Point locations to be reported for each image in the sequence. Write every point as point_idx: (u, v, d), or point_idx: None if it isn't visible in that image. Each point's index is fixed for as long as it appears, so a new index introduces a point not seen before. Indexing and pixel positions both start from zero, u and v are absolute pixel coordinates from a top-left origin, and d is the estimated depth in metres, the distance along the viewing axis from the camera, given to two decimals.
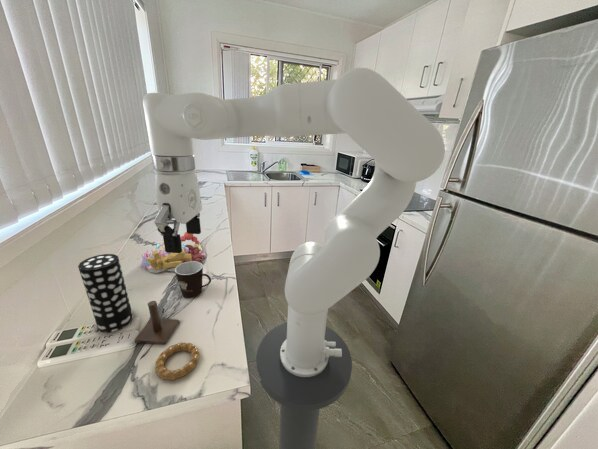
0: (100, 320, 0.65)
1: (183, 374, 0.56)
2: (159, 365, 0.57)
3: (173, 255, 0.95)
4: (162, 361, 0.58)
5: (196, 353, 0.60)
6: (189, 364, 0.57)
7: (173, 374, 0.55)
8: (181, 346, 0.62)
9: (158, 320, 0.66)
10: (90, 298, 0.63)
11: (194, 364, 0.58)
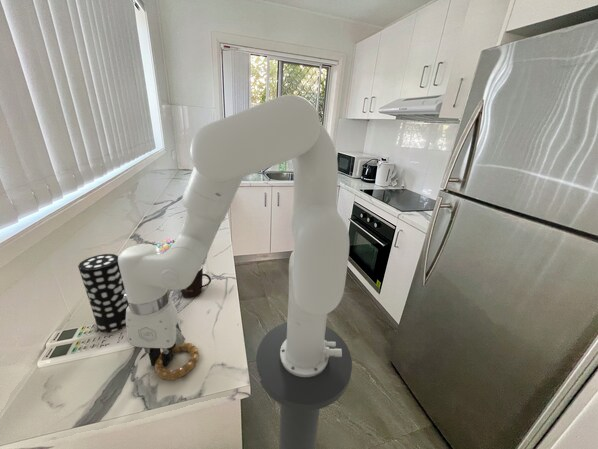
0: (100, 320, 0.65)
1: (182, 374, 0.56)
2: (158, 365, 0.57)
3: None
4: (161, 361, 0.58)
5: (195, 353, 0.60)
6: (188, 364, 0.57)
7: (172, 374, 0.55)
8: (181, 346, 0.62)
9: None
10: (90, 297, 0.63)
11: (193, 364, 0.58)
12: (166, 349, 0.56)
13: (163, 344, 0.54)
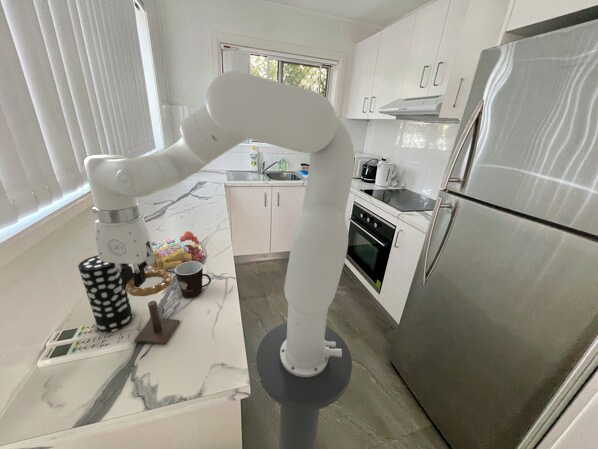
0: (100, 320, 0.65)
1: (153, 292, 0.56)
2: (130, 284, 0.57)
3: (173, 255, 0.95)
4: (133, 282, 0.58)
5: (168, 277, 0.61)
6: (160, 284, 0.58)
7: (143, 290, 0.55)
8: (154, 272, 0.63)
9: (158, 320, 0.66)
10: (90, 297, 0.63)
11: (165, 285, 0.58)
12: (137, 268, 0.57)
13: (133, 259, 0.54)
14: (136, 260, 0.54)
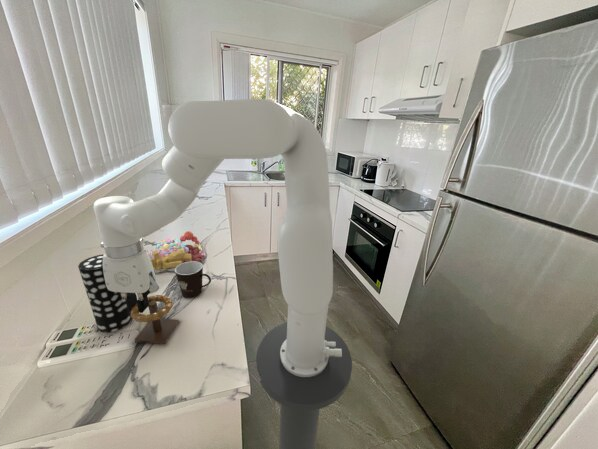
0: (100, 320, 0.65)
1: (156, 318, 0.61)
2: (134, 310, 0.62)
3: (173, 255, 0.95)
4: (137, 308, 0.64)
5: (169, 302, 0.66)
6: (162, 310, 0.63)
7: (146, 317, 0.61)
8: (157, 297, 0.68)
9: (158, 320, 0.66)
10: (90, 297, 0.63)
11: (167, 311, 0.64)
12: (141, 295, 0.62)
13: (137, 289, 0.59)
14: (140, 290, 0.60)
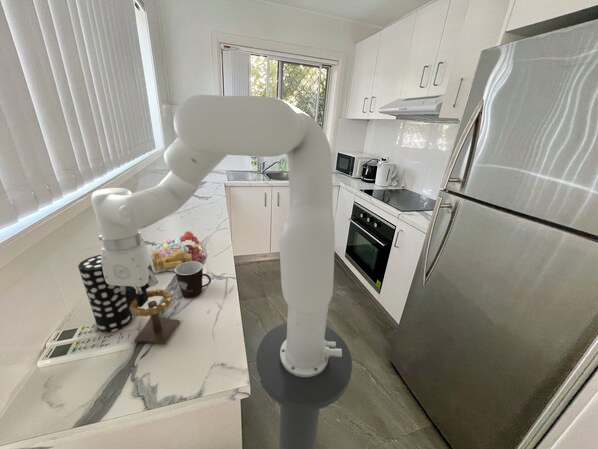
0: (100, 320, 0.65)
1: (155, 312, 0.61)
2: (133, 304, 0.62)
3: (173, 255, 0.95)
4: None
5: (169, 297, 0.65)
6: (161, 304, 0.62)
7: (145, 311, 0.60)
8: (156, 292, 0.67)
9: (158, 320, 0.66)
10: (90, 297, 0.63)
11: (166, 305, 0.63)
12: (140, 289, 0.61)
13: (136, 282, 0.59)
14: (139, 283, 0.59)
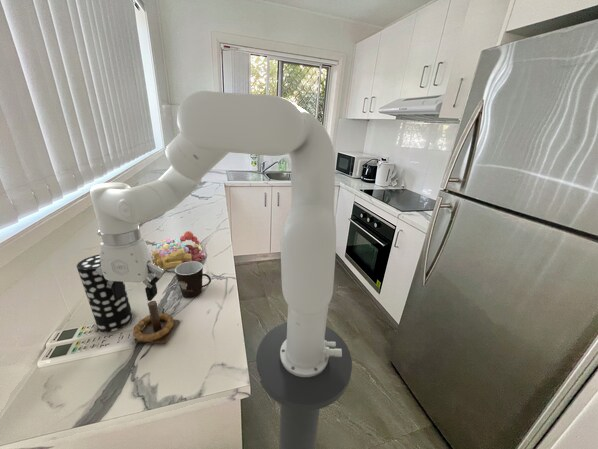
0: (100, 320, 0.65)
1: (157, 337, 0.64)
2: (136, 330, 0.65)
3: (173, 255, 0.95)
4: (140, 327, 0.66)
5: (170, 321, 0.68)
6: (163, 329, 0.65)
7: (148, 337, 0.63)
8: None
9: (158, 320, 0.66)
10: (90, 297, 0.63)
11: (168, 329, 0.66)
12: (147, 282, 0.60)
13: (135, 278, 0.58)
14: (138, 279, 0.58)
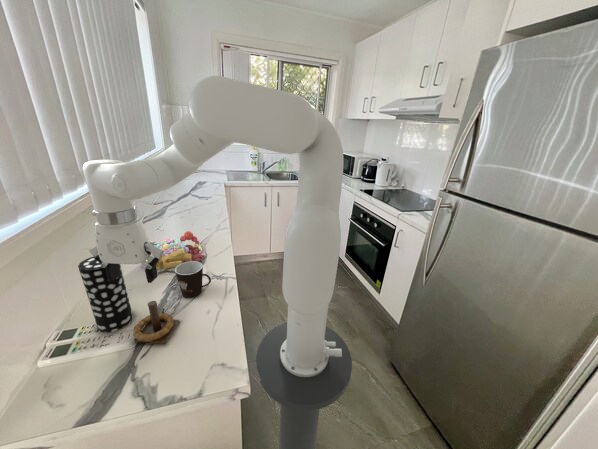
0: (100, 320, 0.65)
1: (157, 337, 0.64)
2: (136, 330, 0.65)
3: (173, 255, 0.95)
4: (140, 327, 0.66)
5: (170, 321, 0.68)
6: (163, 329, 0.65)
7: (148, 337, 0.63)
8: None
9: (158, 320, 0.66)
10: (90, 298, 0.63)
11: (168, 329, 0.66)
12: (147, 263, 0.58)
13: (132, 259, 0.56)
14: (135, 260, 0.57)
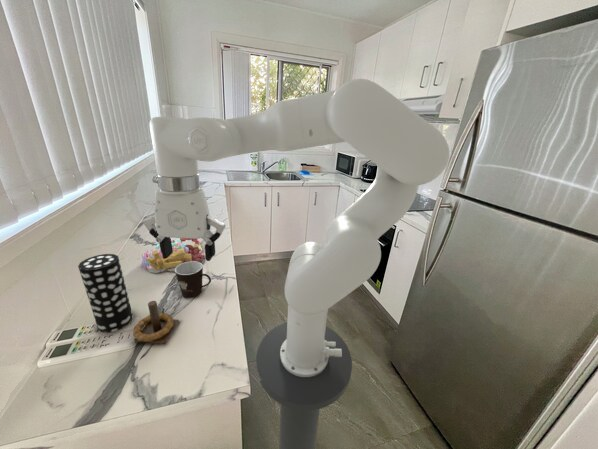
0: (100, 320, 0.65)
1: (157, 337, 0.64)
2: (136, 330, 0.65)
3: (173, 255, 0.95)
4: (140, 327, 0.66)
5: (170, 321, 0.68)
6: (163, 329, 0.65)
7: (148, 337, 0.63)
8: None
9: (158, 320, 0.66)
10: (90, 297, 0.63)
11: (168, 329, 0.66)
12: (207, 238, 0.52)
13: (193, 233, 0.50)
14: (197, 234, 0.51)
